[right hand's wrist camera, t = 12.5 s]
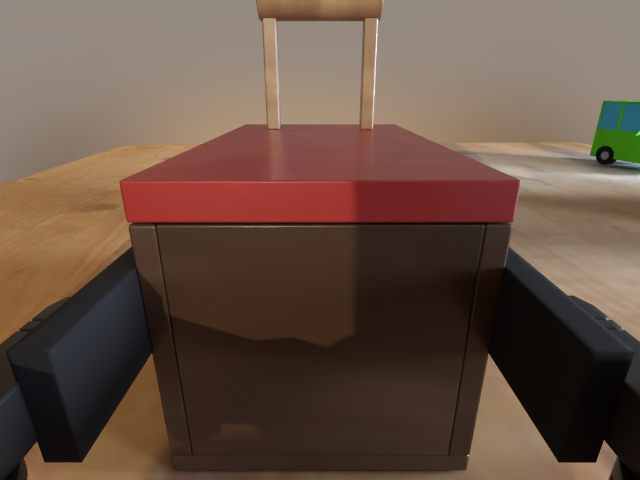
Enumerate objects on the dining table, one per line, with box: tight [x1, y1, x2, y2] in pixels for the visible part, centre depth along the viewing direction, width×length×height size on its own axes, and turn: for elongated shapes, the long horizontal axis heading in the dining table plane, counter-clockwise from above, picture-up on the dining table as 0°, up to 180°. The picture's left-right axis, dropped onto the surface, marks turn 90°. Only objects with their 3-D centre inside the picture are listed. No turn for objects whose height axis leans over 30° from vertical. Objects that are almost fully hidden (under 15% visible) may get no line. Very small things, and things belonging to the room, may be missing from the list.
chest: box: [129, 222, 512, 470], centre depth 19 cm, size 16×10×9 cm, turn 0°
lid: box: [120, 0, 521, 222], centre depth 16 cm, size 17×10×8 cm, turn 0°
